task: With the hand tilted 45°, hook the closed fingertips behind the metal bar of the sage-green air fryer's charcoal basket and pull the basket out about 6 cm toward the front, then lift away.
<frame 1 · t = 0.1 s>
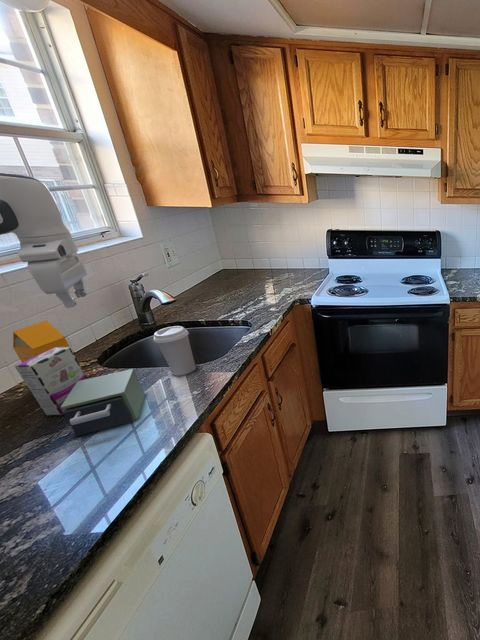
hand: (77, 301, 93), 32 cm above the counter, tool pointing down, fingers open, 8 cm apart
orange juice: (62, 381, 120), on the counter
coffee cup: (184, 371, 124), on the counter
basket: (103, 408, 97), point 5 cm above the counter, slide at 0.5 cm
air fryer: (114, 413, 103), on the counter
candy bar box: (71, 404, 108), on the counter
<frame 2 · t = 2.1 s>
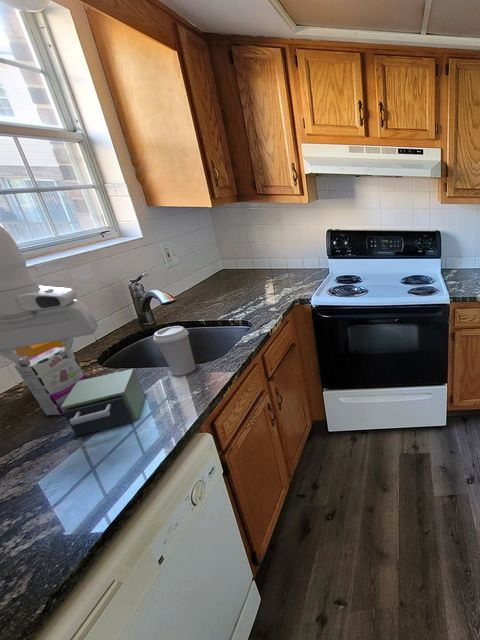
hand: (47, 361, 78), 25 cm above the counter, tool pointing down, fingers open, 5 cm apart
nothing on the counter moved.
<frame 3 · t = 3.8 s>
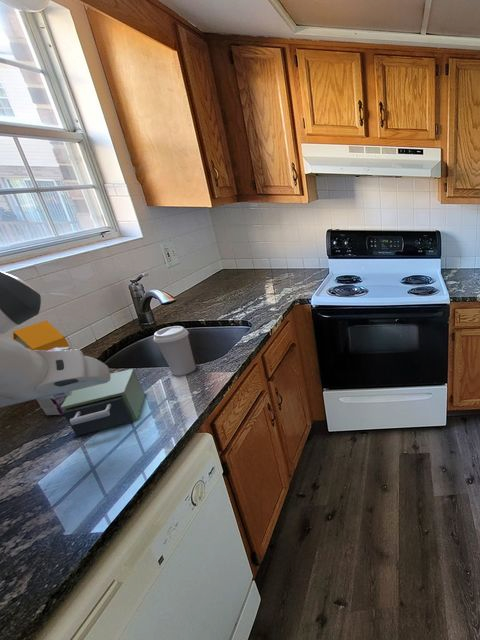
hand: (63, 394, 81), 17 cm above the counter, tool tilted 45°, fingers closed
nothing on the counter moved.
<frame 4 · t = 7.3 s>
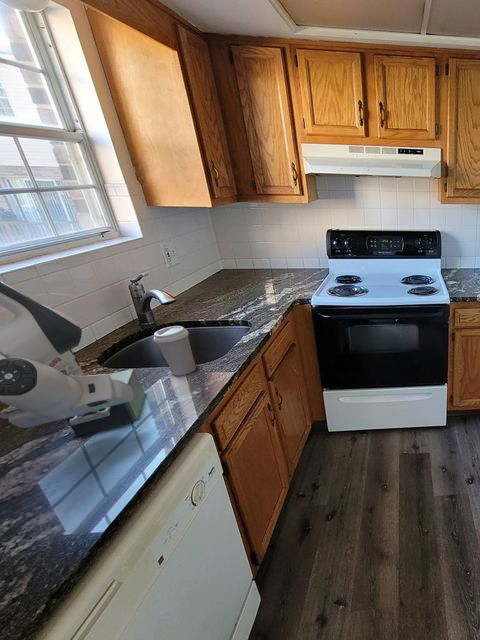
hand: (91, 411, 91), 8 cm above the counter, tool tilted 45°, fingers closed, pressing on basket
basket: (103, 409, 97), point 5 cm above the counter, slide at 0.6 cm, touching gripper
everything else where it was.
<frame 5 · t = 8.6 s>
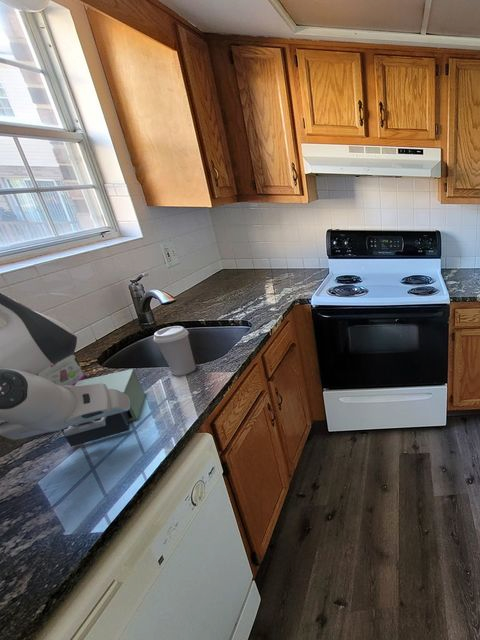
hand: (86, 421, 87), 8 cm above the counter, tool tilted 45°, fingers closed, pressing on basket
basket: (98, 418, 94), point 5 cm above the counter, slide at 5.2 cm, touching gripper
everything else where it was.
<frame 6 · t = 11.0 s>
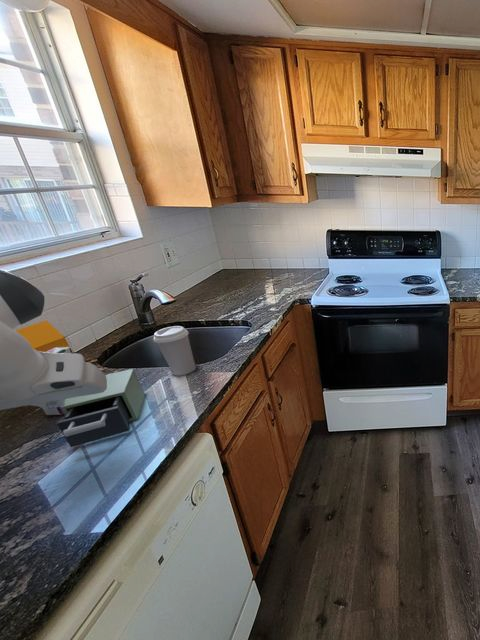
hand: (55, 404, 79), 16 cm above the counter, tool tilted 35°, fingers closed
basket: (98, 418, 94), point 5 cm above the counter, slide at 5.4 cm
everything else where it was.
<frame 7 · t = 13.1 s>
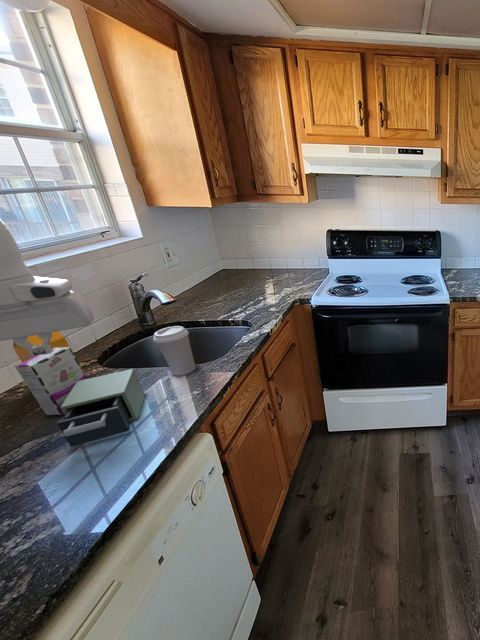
hand: (42, 353, 77), 27 cm above the counter, tool pointing down, fingers closed
nothing on the counter moved.
at the end: basket slide at 5.4 cm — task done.
